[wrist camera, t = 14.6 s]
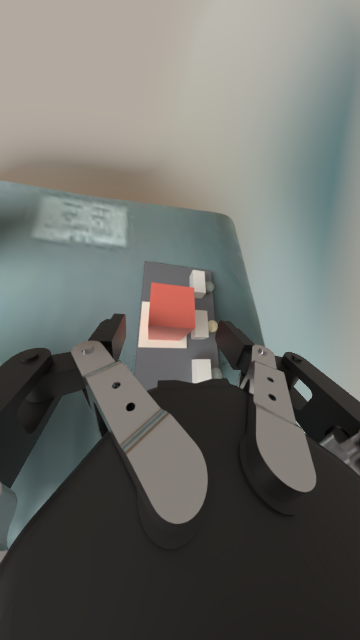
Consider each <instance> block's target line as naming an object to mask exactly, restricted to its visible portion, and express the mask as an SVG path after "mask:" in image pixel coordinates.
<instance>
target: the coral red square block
mask: <svg viewBox="0 0 360 640" xmlns="http://www.w3.org/2000/svg"><path fill="white" fill-rule="evenodd" d="M194 329H195V298H194V288H193V287H185V286H177V285H169V284H160V283H152V282H151V295H150V307H149V320H148V340H173V341H179V340H181V339H182V338H183V337H185V336H186V335H187V334H189V333H190V332H191V331H193V330H194Z"/></svg>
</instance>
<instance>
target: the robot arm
mask: <svg viewBox="0 0 360 640" xmlns="http://www.w3.org/2000/svg"><path fill="white" fill-rule="evenodd" d="M125 338H126V317H125V314H114V315H113V317H112V318H111V320H110V319H106V320H104V321H103V322H101V323H100V324H99V326H98V327H97V329H96V331H94V333H93V334H92V335H91V337H90V338H89V340H88V341H85V342H82V343H79V344H77V345H76V346H74V347H73V349H72V350H71V352H68V353H62V354H56V355H51V352H50V350H48V349H46V348H34V349H29V350H26V351H23V352H20V353H18V354H16V355H14V356H13V357H11V358H10V359H9V360H8V361H7V362H5V363H4V364H3V365H2V366H0V640H360V402H359V401H358V400H357V399H355V398H354V397H353V396H351V395H350V394H349V393H348V392H346V391H345V390H344V389H343V388H341V387H340V386H339V385H338V384H336V383H335V382H334V381H332V380H331V379H330V378H328V377H327V376H326V375H325V374H324V373H322V372H321V371H320V370H318V369H317V368H316V367H314V366H313V365H312V364H311V363H310V362H308V361H307V360H306V359H304V358H303V357H301V356H299V355H297V354H295V353H292V352H286V353H285V354H284V356H283V357H279V356H274V354H273V352H272V351H271V350H269V349H268V348H266V347H264V346H261V345H255V344H254V343H253V342H252V341H251V340H250V339H249V338H248V337H246V335H245V334H243V333H242V332H241V331H240V330H239V329H238V328H236V327H235V326H234V325H233V324H232V323H231V322H230V321H220V322H219V325H218V328H217V331H216V335H215V341H216V343H217V345H218V346H219V348H220V349H221V351H222V353H223V354H224V356H225V357H226V359H227V360H228V362H229V364H230V365H231V367H232V368H233V370H241V372H240V374H239V380H238V385H237V386H235V385H231V384H230V383H229V381H228V379H227V378H222V379H209V380H206V381H202V382H199V383H190V382H184V381H179V380H158V382H157V387H154V388H152V389H149V390H148V391H146V390H145V389H144V388H143V386H142V385H141V384H140V383H139V381H138V380H137V379H136V378H135V377H134V375H133V374H132V373H131V372H130V371H129V369H128V368H127V367H126V366H125V364H124V363H123V362H122V361H121V360H119V361H118V359H119V356H120V353H121V350H122V347H123V344H124V341H125ZM299 379H300V380H301V381H302V382H303V383H304V384H305V385H306V386H307V387H309V389H310V390H311V392H312V398H311V399H310V400H309V402H307V401H306V400H305V399H304V397H303V396H302V395H301V394H300V393H299V392H298V391H297V390H296V389H295V388H294V387H293V386H294V385H295V384H296V382H297V381H298V380H299ZM79 390H81V391H82V394H83V396H84V398H85V400H86V403H87V405H88V407H89V410H90V412H91V414H92V417H93V420H94V423H95V426H96V428H97V431H98V433H99V436H100V438H101V439H100V441H99V442H98V443H97V444H96V445H95V446H94V447H93V449H92V450H91V451H90V452H89V453H88V454H87V455H86V457H85V458H84V459H83V460H82V461H81V462H80V463H79V465H78V466H77V467H76V468H75V469H74V470H73V471H72V473H71V474H70V475H69V476H68V477H67V478H66V479H65V481H64V482H63V483H62V484H61V485H60V486H59V487H58V489H57V490H56V491H55V492H54V493H53V494H52V495H51V497H50V498H49V499H48V500H47V501H46V502H45V503H44V505H43V506H42V507H41V508H40V509H39V510H38V511H37V513H36V514H35V515H34V516H33V517H32V518H31V520H30V521H29V522H28V523H27V525H26V526H25V527H24V528H23V530H22V531H21V533H20V534H19V535H18V537H17V538H16V539H15V541H14V542H13V544H12V545H11V547H10V548H9V550H8V547H7V534H8V530H9V526H10V523H11V521H12V518H13V516H14V513H15V510H16V506H17V497H16V495H15V493H14V492H13V491H12V490H11V489H10V488H11V486H12V484H13V482H14V481H15V479H16V477H17V475H18V474H19V472H20V470H21V468H22V466H23V465H24V463H25V461H26V459H27V457H28V456H29V454H30V452H31V450H32V448H33V447H34V445H35V443H36V441H37V440H38V438H39V436H40V434H41V432H42V431H43V429H44V427H45V425H46V423H47V422H48V420H49V418H50V416H51V415H52V413H53V411H54V409H55V407H56V406H57V404H58V402H59V400H60V398H61V397H62V395H65V394H69V393H72V392H76V391H79ZM296 421H297V422H298V423H299V425H300V426H301V427H299V426H298V425H297V424H296ZM302 429H303V430H304V431H303V430H302ZM304 432H305V433H306V434H305V433H304Z"/></svg>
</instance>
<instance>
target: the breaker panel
mask: <svg viewBox="0 0 360 640" xmlns="http://www.w3.org/2000/svg"><path fill="white" fill-rule="evenodd" d="M151 282H152V283H160V284H169V285H177V286H185V287H193V288H194V298H195V329H194V330H193V331H191V332H190V333H189V334H187V335H186V336H185V337H183V338H182V339H181V340H179V341H173V340H148V320H149V307H150V295H151ZM213 290H214V284H213V283H212V278H211V271H210V270H203V269H196V268H189V267H182V266H175V265H168V264H162V263H155V262H148V261H145V264H144V275H143V286H142V297H141V307H140V318H139V329H138V339H137V350H136V361H135V372H134V377H135V378H136V379H137V380H138V381H139V383H140V384H141V385H142V386H143V388H144V389H145V390H146V391H148V390H149V389H152V388H154V387H157V382H158V380H179V381H184V382H190V383H199V382H202V381H206V380H209V379H222V372H221V370H220V369H219V361H218V350H217V343H216V341H215V335H216V330H217V328H218V324H217V323H216V322H215V314H214V302H213Z"/></svg>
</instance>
